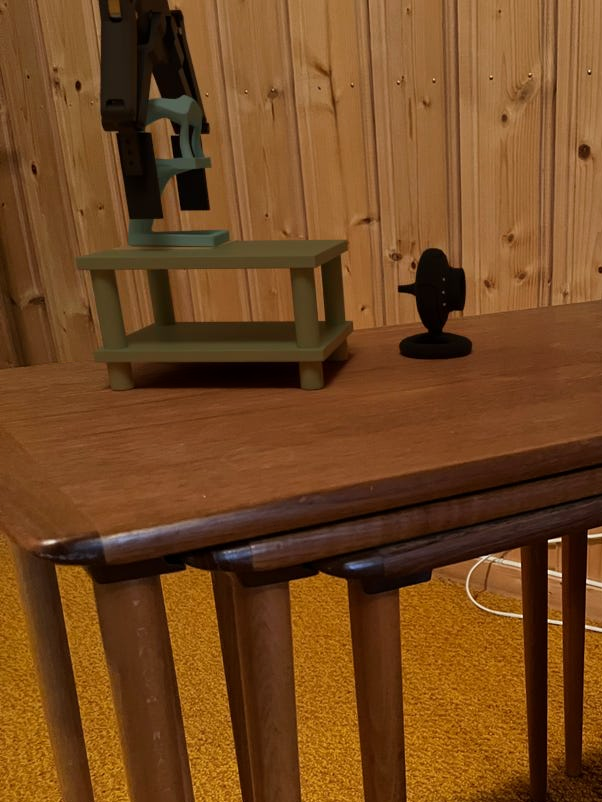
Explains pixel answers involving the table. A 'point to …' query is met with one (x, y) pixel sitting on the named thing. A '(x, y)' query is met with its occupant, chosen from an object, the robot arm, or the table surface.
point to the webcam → (436, 307)
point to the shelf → (223, 339)
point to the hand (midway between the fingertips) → (172, 215)
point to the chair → (182, 114)
